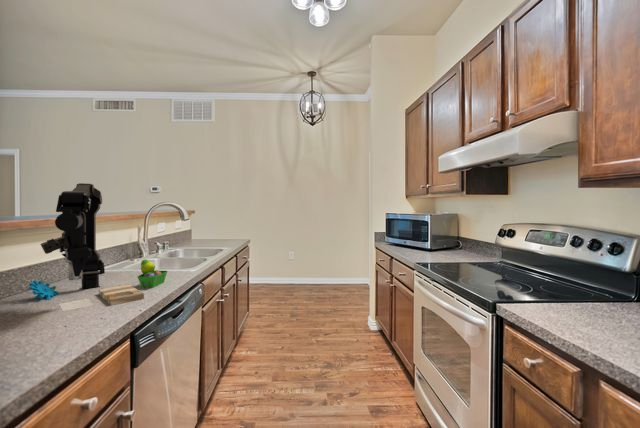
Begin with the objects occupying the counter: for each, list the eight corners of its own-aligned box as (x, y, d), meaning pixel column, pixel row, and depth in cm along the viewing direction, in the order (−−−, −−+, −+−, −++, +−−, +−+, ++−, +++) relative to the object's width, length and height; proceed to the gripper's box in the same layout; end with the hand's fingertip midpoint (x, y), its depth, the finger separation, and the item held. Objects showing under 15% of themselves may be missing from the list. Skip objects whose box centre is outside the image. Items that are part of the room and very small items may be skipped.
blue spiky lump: (47, 300, 105) (25, 280, 104) (32, 313, 104) (10, 293, 103) (67, 295, 116) (48, 277, 115) (54, 307, 115) (34, 288, 114)
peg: (64, 278, 102) (64, 258, 101) (83, 276, 105) (83, 256, 105) (66, 281, 98) (66, 260, 98) (86, 278, 102) (86, 258, 102)
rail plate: (98, 297, 114) (98, 288, 114) (129, 291, 121) (129, 283, 121) (111, 308, 102) (111, 299, 102) (143, 301, 109) (143, 293, 109)
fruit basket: (154, 288, 126) (154, 261, 126) (133, 288, 126) (133, 261, 126) (168, 281, 138) (168, 257, 137) (149, 281, 138) (149, 256, 138)
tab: (58, 307, 103) (58, 303, 103) (87, 302, 108) (87, 298, 108) (63, 314, 96) (62, 311, 96) (94, 308, 102) (93, 305, 102)
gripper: (39, 228, 102) (40, 274, 102) (45, 232, 89) (46, 284, 89) (81, 227, 110) (81, 269, 110) (92, 230, 97) (92, 278, 98)
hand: (75, 275), depth 102 cm, fingers closed on peg, 4 cm apart
